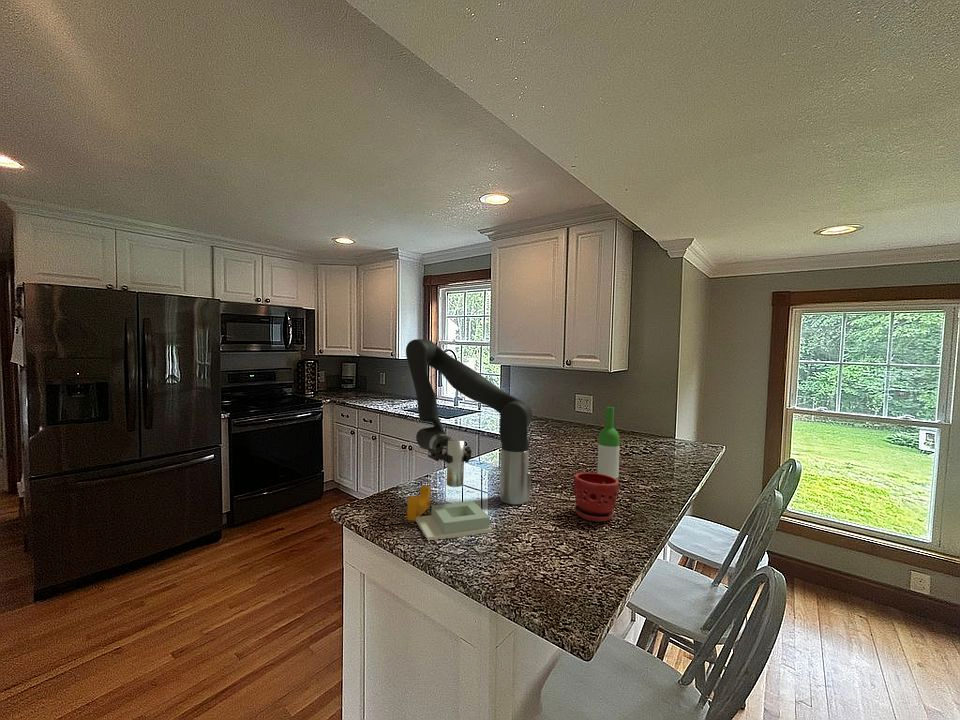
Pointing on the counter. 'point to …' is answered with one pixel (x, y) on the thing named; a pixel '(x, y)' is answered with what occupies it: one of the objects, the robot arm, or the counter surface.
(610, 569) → the counter surface
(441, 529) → the pale green square frame
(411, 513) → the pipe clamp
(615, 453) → the wine bottle
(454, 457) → the steel shaft
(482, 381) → the robot arm
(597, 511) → the plant pot
